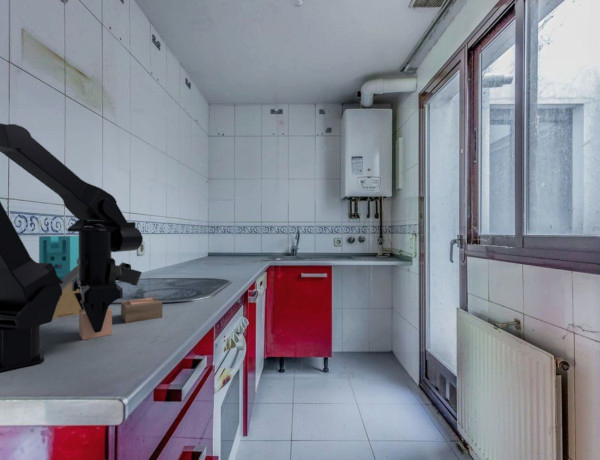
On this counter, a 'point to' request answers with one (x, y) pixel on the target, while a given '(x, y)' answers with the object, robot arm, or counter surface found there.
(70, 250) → the toy
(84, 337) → the terracotta cube
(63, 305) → the sandwich container
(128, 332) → the counter surface
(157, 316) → the oak base block
